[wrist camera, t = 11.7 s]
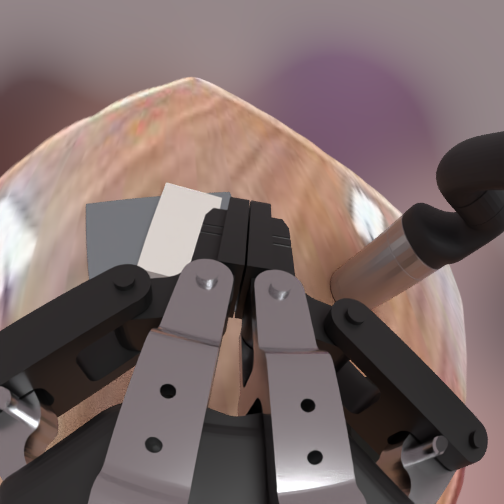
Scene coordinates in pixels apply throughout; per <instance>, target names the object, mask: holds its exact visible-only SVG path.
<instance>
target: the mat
mask: <svg viewBox="0 0 504 504" xmlns="http://www.w3.org/2000/svg"><path fill="white" fill-rule="evenodd" d="M207 194H210V195H214V196H217V197H221V198H222V201H221V206H220V209H224V210H227V209H228V205H229V200H230V197H231V194H230V192H218V193H207ZM160 198H161V196H157V197H145V198H135V199H125V200H116V201H107V202H99V203H91V204H86V239H87V258H88V271H89V280H90V279H92V278H93V277H95V276H97V275H99V274H101V273H103V272H105V271H107V270H109V269H111V268H112V267H115V266H118V265H122V264H133V265H138V262H139V258H140V255H141V252H142V249H143V246H144V243H145V240H146V237H147V234H148V231H149V228H150V225H151V222H152V219H153V217H154V214H155V211H156V208H157V206H158V203H159V200H160ZM235 310H236V306H235ZM235 310H234V312H235Z"/></svg>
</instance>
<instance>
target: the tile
mask: <svg viewBox="0 0 504 504" xmlns="http://www.w3.org/2000/svg"><path fill="white" fill-rule="evenodd" d="M221 201H222V198H221V197H217V196H214V195H210V194H207V193H203V192H200V191H196V190H192V189H189V188H185V187H181V186H178V185H174V184H170V183H166V185H165V187H164V190H163V193H162V195H161V198H160V200H159V203H158V206H157V208H156V211H155V214H154V217H153V219H152V222H151V225H150V228H149V231H148V234H147V237H146V240H145V243H144V246H143V249H142V252H141V255H140V258H139V262H138V265H137V266H140V267H142V268H143V269H145V270H146V271H147V272H148V274H149V276H150V278H163V277H170V276H174V275H177V274H179V273H181V272H182V270H183V268H184V267H185V266H186V265H187V264H188V263H190V262H191V260H192V256H193V253H194V250H195V246H196V243H197V240H198V236H199V233H200V230H201V227H202V224H203V220H204V217H205V214H207V213H208V212H209V211H210V210H211V209H213V208H218V209H220V206H221Z"/></svg>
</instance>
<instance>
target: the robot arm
mask: <svg viewBox="0 0 504 504" xmlns="http://www.w3.org/2000/svg"><path fill="white" fill-rule="evenodd" d="M436 180H437V185H438V188H439V190H440V192H441V193H442V195H443V196H444V197H445V199H446V200H447V202H448V203H449V204H450V205H451V206H452V207H453V208H454V209H455V211H456V212H454V213H453V212H445V211H442V210H439V209H437V208H434V207H432V206H430V205H428V204H425V203H417V204H415V205H413V206H412V207H411V208H410V209H408V210H407V211H406V212H405V213H404V214H403V215H402V216H401V217H400V218H398V219H397V220H396V221H395V222H394V223H393V224H392V225H391V226H389V227H388V228H387V229H386V230H385V231H384V232H382V233H381V234H380V235H379V236H378V237H377V238H375V239H374V240H373V241H372V242H371V243H369V244H368V245H367V246H366V247H365V248H363V249H362V250H361V251H360V252H358V253H357V254H356V255H355V256H354V257H352V258H351V259H350V260H348V261H347V262H346V263H345V264H344V265H342V266H341V267H340V268H338V269H337V270H336V271H335V272H334V273H333V275H332V278H331V291H332V294H333V297H334V299H335V301H336V302H335V303H334V304H333V306H330V305H328V304H325V303H323V302H320V301H318V300H315V299H313V298H311V297H310V296H308V295H307V294H306V293H305V291H304V287H303V285H302V284H301V282H300V281H299V280H298V279H297V278H296V277H295V272H294V264H293V256H292V248H291V240H290V233H289V228H288V227H287V225H286V224H285V223H284V221H283V220H282V219H277V218H271V204H268V203H263V202H257V201H251V202H250V206H249V200H245V199H239V198H233V197H230V200H229V205H228V209H227V210H224V209H218V208H213V209H211V210H210V211H209V212H208V213H207V214H205V217H204V220H203V224H202V227H201V230H200V233H199V236H198V240H197V243H196V246H195V250H194V253H193V256H192V260H191V262H190V263H188V264H187V265H186V266H185V267H184V268H183V270H182V272H181V273H179V274H177V275H174V276H170V277H163V278H150V276H149V274H148V272H147V271H146V270H145V269H143V268H142V267H140V266H137V265H133V264H122V265H118V266H115V267H112V268H111V269H109V270H107V271H105V272H103V273H101V274H99V275H97V276H95V277H93V278H92V279H90V280H88V281H86V282H84V283H82V284H80V285H79V286H77V287H75V288H73V289H71V290H69V291H68V292H66V293H64V294H62V295H61V296H59V297H57V298H55V299H53V300H52V301H50V302H48V303H46V304H45V305H43V306H41V307H39V308H38V309H36V310H34V311H33V312H31V313H29V314H28V315H26V316H24V317H23V318H21V319H19V320H18V321H16V322H14V323H13V324H11V325H9V326H8V327H6V328H5V329H3V330H1V331H0V476H1V478H2V480H3V482H2V483H1V485H0V504H436V503H437V501H438V500H439V498H440V496H441V495H442V493H443V492H444V490H445V489H446V487H447V485H448V484H449V482H450V480H451V478H452V477H453V475H454V473H455V472H456V470H458V469H460V468H463V467H466V466H468V465H471V464H473V463H475V462H477V461H479V460H481V458H482V457H483V456H484V454H485V452H486V449H487V443H488V437H487V432H486V430H485V427H484V426H483V424H482V423H481V422H480V421H479V420H478V419H477V418H476V417H475V415H474V414H473V413H472V412H471V411H470V410H469V409H468V408H467V407H466V405H465V404H464V403H463V402H462V401H461V400H460V399H459V398H458V397H457V396H456V395H455V394H454V393H453V392H452V391H451V389H450V388H449V387H448V386H447V385H446V384H445V383H444V382H443V381H442V380H441V379H440V378H439V377H438V376H437V375H436V374H435V373H434V372H433V371H432V370H431V369H430V368H429V367H428V366H427V365H426V364H425V363H424V362H423V361H422V360H421V359H420V358H419V357H418V356H417V355H416V354H415V353H414V352H413V351H412V350H411V349H410V348H409V347H408V346H407V345H406V344H405V343H404V342H403V341H402V340H401V339H400V338H399V337H398V336H397V335H396V334H395V333H394V332H393V331H392V330H391V329H390V328H389V327H388V326H387V325H386V324H385V323H384V322H383V321H382V320H381V319H380V318H378V317H377V316H376V315H375V314H374V313H373V312H372V311H371V309H373V308H375V307H377V306H379V305H381V304H383V303H384V302H386V301H388V300H390V299H391V298H393V297H395V296H397V295H398V294H400V293H402V292H403V291H405V290H407V289H408V288H410V287H412V286H413V285H415V284H417V283H418V282H420V281H422V280H423V279H425V278H426V277H428V276H429V275H431V274H432V273H434V272H435V271H437V270H438V269H440V268H442V267H443V266H445V265H447V264H452V263H456V262H458V261H460V260H462V259H463V258H465V257H467V256H468V255H470V254H471V253H473V252H474V251H476V250H478V249H479V248H481V247H482V246H484V245H486V244H487V243H489V242H490V241H492V240H493V239H494V238H496V237H497V236H499V235H500V234H501V233H502V232H503V231H504V131H503V132H497V133H492V134H486V135H481V136H477V137H473V138H471V139H468V140H465V141H463V142H461V143H459V144H457V145H456V146H455V147H453V148H452V149H451V150H449V151H448V152H447V153H446V155H444V157H443V158H442V160H441V161H440V163H439V165H438V168H437V172H436ZM235 306H236V310H235ZM234 310H235V318H239V319H242V329H241V333H240V336H239V371H240V396H239V403H238V417H234V416H229V415H226V414H223V413H220V412H218V411H215V410H212V409H210V408H208V407H209V401H210V396H211V391H212V386H213V381H214V376H215V371H216V366H217V361H218V356H219V352H220V347H221V342H222V337H223V335H224V334H225V332H226V327H227V323H228V318H229V317H231V318H233V314H234ZM349 360H351V361H352V362H353V363H354V364H355V365H356V366H357V367H358V368H359V369H360V370H361V371H362V372H363V373H364V374H365V375H366V376H367V377H368V378H369V379H370V380H371V381H372V382H373V383H374V384H375V385H376V386H377V387H375V386H373V385H372V384H371V383H370V382H369V381H368V380H367V379H366V378H365V377H364V376H363V375H362V374H361V373H360V372H359V371H358V370H357V369H356V368H355V367H354V365H353V364H352V363H351V362H350V361H349ZM135 365H136V366H135ZM134 366H135V369H134V372H133V375H132V377H131V380H130V383H129V386H128V389H127V392H126V394H125V397H124V400H123V403H121V404H118V405H115V406H112V407H110V408H108V409H106V410H104V411H102V412H101V413H99V414H98V415H96V416H95V417H93V418H92V419H91V420H89V421H88V422H87V423H85V424H84V425H82V426H81V427H80V428H78V429H77V430H76V431H74V432H73V433H71V434H70V435H69V436H67V437H66V438H64V439H63V440H61V441H60V442H59V443H57V444H56V445H54V446H53V447H51V448H50V449H49V450H47V451H46V452H45V450H46V448H47V446H48V445H49V444H50V443H51V442H52V441H53V440H54V439H55V437H56V436H57V434H58V419H57V417H59V416H60V415H62V414H64V413H65V412H67V411H68V410H70V409H71V408H73V407H74V406H76V405H77V404H79V403H80V402H82V401H83V400H85V399H87V398H88V397H90V396H91V395H93V394H94V393H96V392H97V391H99V390H100V389H102V388H103V387H104V386H106V385H107V384H109V383H110V382H112V381H113V380H115V379H116V378H118V377H119V376H121V375H122V374H124V373H125V372H127V371H128V370H130V369H131V368H132V367H134ZM345 421H346V422H347V423H348V424H349V425H350V426H351V427H352V428H353V429H354V430H355V431H356V432H357V433H358V434H359V435H360V436H361V437H362V438H363V439H364V440H365V441H366V442H367V443H368V445H369V446H370V447H371V448H372V449H373V450H374V451H375V452H376V453H377V454H378V455H379V456H380V459H379V460H378V461H377V462H376V463H375V462H374V461H373V460H372V459H371V458H370V457H369V455H368V454H367V453H366V452H365V451H364V450H363V449H362V448H361V447H360V446H359V445H358V443H357V442H356V441H355V440H354V439H353V438H352V437H351V436H350V435H348V433H347V427H346V422H345Z"/></svg>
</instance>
